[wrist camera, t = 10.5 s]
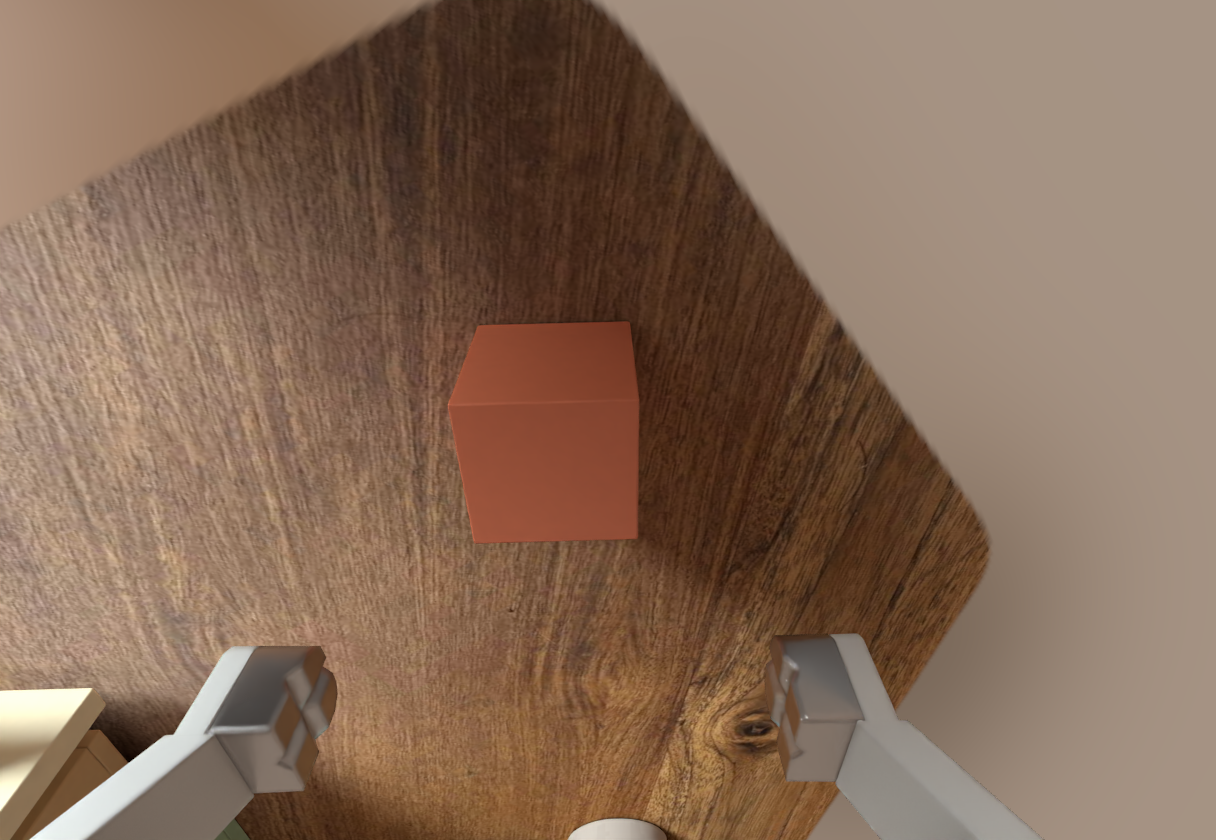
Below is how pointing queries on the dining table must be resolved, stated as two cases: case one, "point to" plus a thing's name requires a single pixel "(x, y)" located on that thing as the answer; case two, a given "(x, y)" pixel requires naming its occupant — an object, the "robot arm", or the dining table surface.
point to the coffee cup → (618, 830)
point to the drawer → (49, 756)
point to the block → (549, 432)
